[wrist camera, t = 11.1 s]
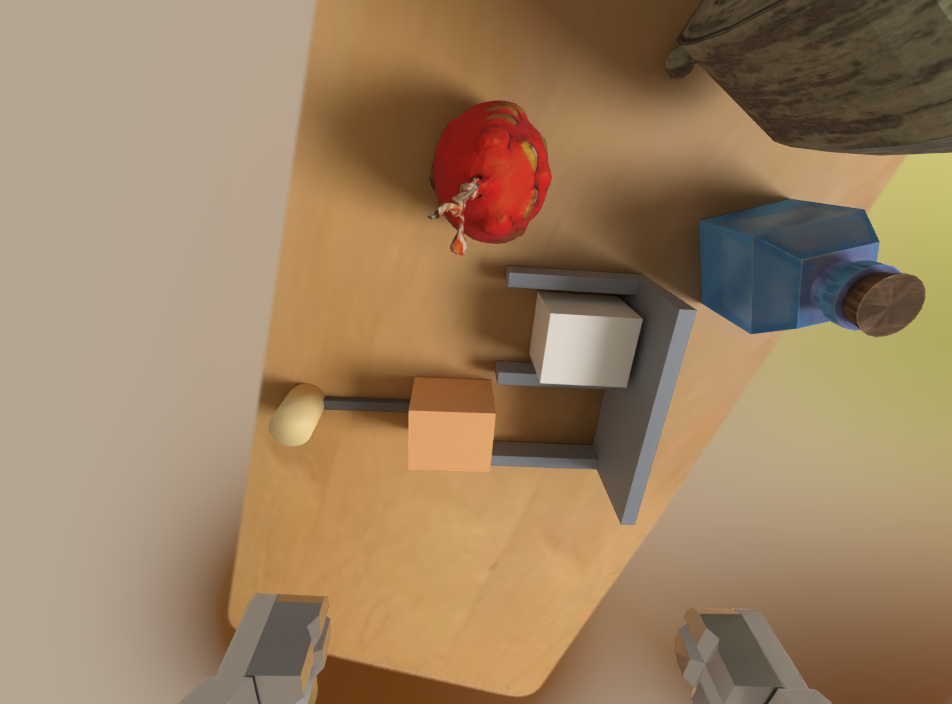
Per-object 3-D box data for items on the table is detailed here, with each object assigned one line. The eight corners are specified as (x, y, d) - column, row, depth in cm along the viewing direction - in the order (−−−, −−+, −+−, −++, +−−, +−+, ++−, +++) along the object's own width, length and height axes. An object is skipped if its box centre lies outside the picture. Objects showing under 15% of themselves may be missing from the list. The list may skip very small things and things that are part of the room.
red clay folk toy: (544, 222, 31) (613, 280, 17) (443, 239, 31) (432, 309, 17) (532, 97, 28) (606, 45, 14) (420, 117, 28) (385, 84, 14)
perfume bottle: (701, 303, 34) (819, 376, 23) (699, 220, 31) (830, 258, 20) (785, 284, 33) (945, 349, 22) (789, 198, 31) (972, 225, 20)
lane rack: (506, 265, 32) (521, 299, 25) (643, 274, 33) (696, 310, 25) (487, 450, 38) (494, 520, 31) (601, 455, 39) (634, 524, 32)
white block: (537, 290, 33) (550, 313, 28) (617, 296, 33) (642, 318, 29) (529, 352, 35) (539, 383, 30) (604, 357, 35) (626, 387, 31)
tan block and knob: (284, 371, 35) (258, 405, 30) (490, 380, 36) (495, 413, 31) (291, 426, 37) (267, 465, 32) (486, 432, 38) (490, 471, 33)
